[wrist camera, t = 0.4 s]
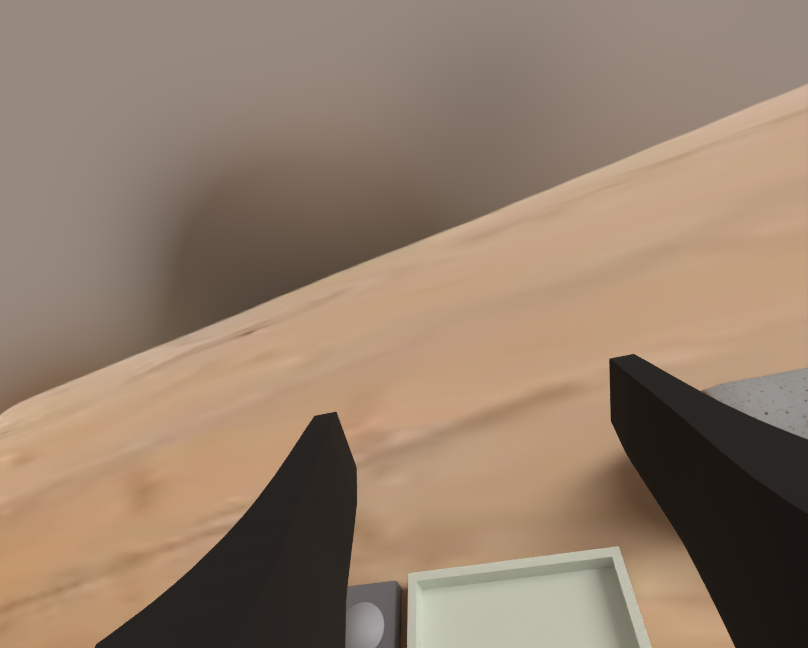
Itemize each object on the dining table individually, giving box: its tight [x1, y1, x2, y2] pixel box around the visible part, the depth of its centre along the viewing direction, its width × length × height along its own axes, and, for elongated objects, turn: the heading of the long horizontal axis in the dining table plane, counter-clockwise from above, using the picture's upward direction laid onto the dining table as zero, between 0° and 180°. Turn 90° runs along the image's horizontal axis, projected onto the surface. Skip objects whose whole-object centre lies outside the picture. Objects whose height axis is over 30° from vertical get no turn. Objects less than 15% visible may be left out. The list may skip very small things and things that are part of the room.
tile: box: [345, 581, 401, 648], centre depth 29 cm, size 5×8×1 cm, turn 89°
